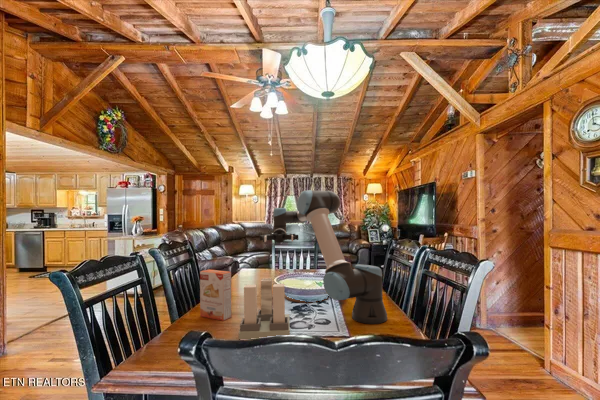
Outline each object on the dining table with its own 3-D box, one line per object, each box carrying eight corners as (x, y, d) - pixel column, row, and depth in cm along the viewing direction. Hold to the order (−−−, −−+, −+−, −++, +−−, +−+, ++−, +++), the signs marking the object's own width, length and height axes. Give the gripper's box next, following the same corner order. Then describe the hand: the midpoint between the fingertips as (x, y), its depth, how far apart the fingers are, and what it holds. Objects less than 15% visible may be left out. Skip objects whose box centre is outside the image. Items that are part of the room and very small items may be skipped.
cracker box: (199, 317, 144) (199, 271, 145) (208, 313, 150) (208, 268, 150) (223, 321, 138) (222, 273, 138) (232, 317, 143) (231, 271, 144)
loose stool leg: (261, 316, 135) (261, 278, 135) (272, 316, 135) (271, 278, 136) (261, 319, 130) (260, 280, 131) (271, 319, 131) (271, 280, 131)
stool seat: (245, 322, 136) (244, 278, 137) (289, 321, 137) (288, 277, 138) (238, 340, 117) (238, 289, 118) (289, 338, 118) (289, 287, 119)
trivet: (326, 290, 189) (326, 287, 189) (332, 303, 164) (332, 299, 164) (284, 291, 188) (284, 288, 188) (284, 304, 163) (284, 300, 163)
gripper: (301, 241, 178) (303, 246, 157) (257, 242, 177) (253, 247, 156) (301, 228, 178) (303, 230, 157) (257, 229, 177) (253, 231, 156)
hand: (278, 239), depth 157 cm, fingers open, 13 cm apart
